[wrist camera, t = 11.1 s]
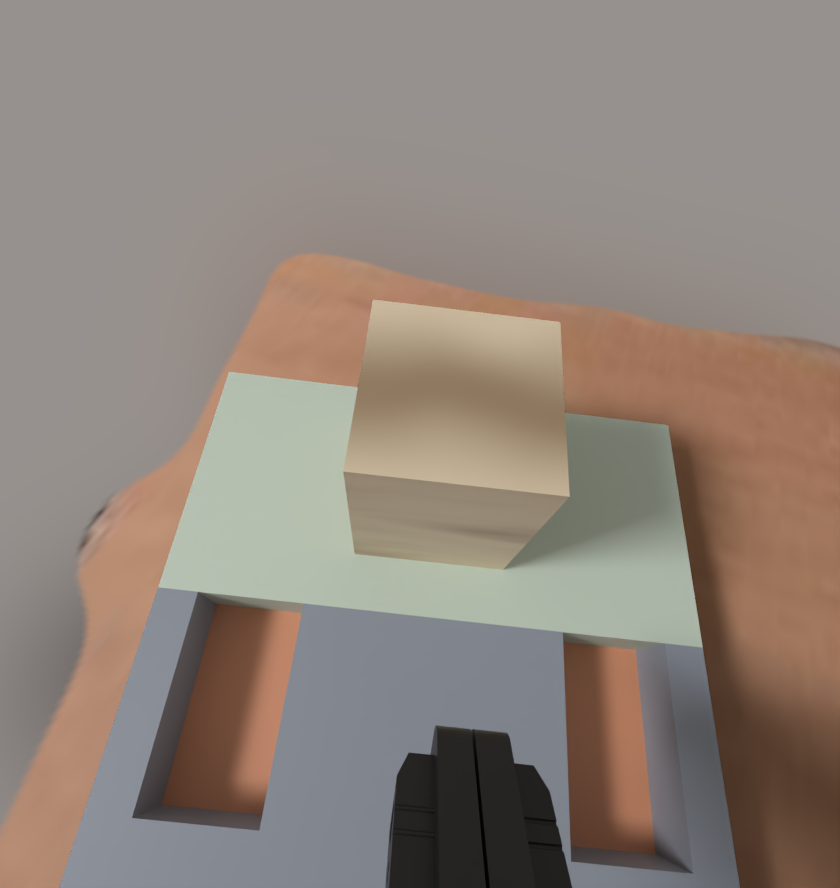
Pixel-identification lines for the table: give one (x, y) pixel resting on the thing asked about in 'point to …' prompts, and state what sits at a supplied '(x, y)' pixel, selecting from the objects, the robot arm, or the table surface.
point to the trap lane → (404, 671)
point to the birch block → (455, 435)
